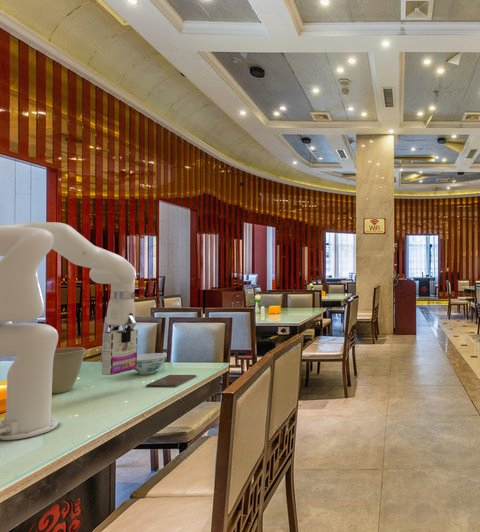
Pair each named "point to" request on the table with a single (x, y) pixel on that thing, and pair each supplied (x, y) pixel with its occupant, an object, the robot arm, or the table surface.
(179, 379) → the plate
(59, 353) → the plant pot
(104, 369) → the candy bar box
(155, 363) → the chinaware
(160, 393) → the table surface
